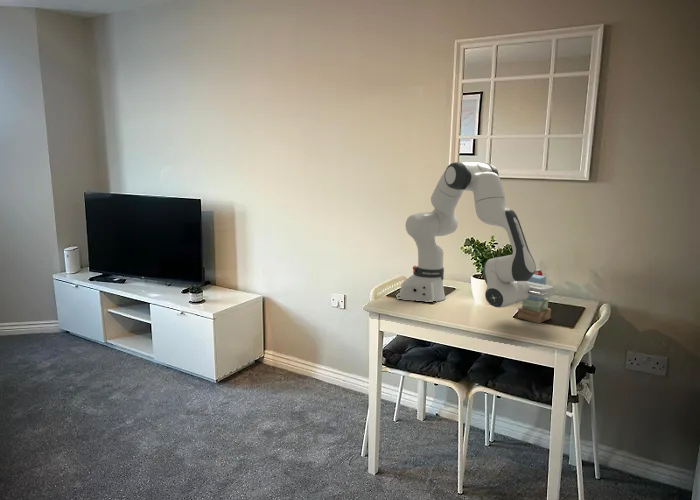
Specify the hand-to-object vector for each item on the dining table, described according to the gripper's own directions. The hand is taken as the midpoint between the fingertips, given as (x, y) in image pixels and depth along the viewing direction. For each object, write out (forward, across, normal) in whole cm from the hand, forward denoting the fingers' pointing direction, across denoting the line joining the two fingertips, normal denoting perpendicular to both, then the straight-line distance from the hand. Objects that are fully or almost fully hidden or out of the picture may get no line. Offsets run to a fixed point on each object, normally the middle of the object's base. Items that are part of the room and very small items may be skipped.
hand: (535, 283), depth 195 cm
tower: (+1, 0, +14) cm, 14 cm away
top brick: (0, 0, +6) cm, 6 cm away
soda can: (+34, +18, +14) cm, 41 cm away
